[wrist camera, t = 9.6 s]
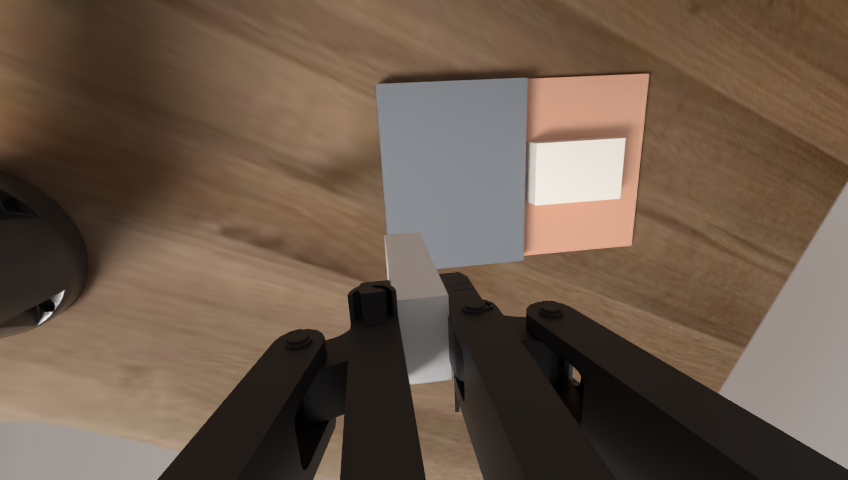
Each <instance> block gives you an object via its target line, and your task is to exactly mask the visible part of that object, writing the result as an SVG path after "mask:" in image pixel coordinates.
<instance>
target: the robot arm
mask: <svg viewBox="0 0 848 480" xmlns="http://www.w3.org/2000/svg"><path fill="white" fill-rule="evenodd" d="M384 239H385V251H386V263H387V276H388V280H386V281H376V282H366V283H361V284H360V286H359V287H356V288H354V289H353V290H351V291H350V292H349V294H348V303H349V311H350V320H351V327H350V330H349V331H347V332H346V333H344V334H342V335H340V336H338V337H335V338H332V339H329V340H325V337H324V335H323V334H322V333H321V332H319V331H317V330H311V329H304V330H302V329H299V330H295V331H291V332H288V333H287V334H285V335H283V336H281V337H279V338H278V339H277V340H275V341H274V342H273V343H272V345H271V346H270V347H269V348H268V349H267V351H266V352H265V353H264V354H263V355H262V356H261V358H260V359H259V360H258V361H257V362H256V364H255V365H254V366H253V367H252V368H251V370H250V371H249V372H248V373H247V374H246V375H245V377H244V378H243V379H242V380H241V381H240V383H239V384H238V385H237V386H236V387H235V388H234V390H233V391H232V392H231V393H230V394H229V396H228V397H227V398H226V399H225V400H224V401H223V403H222V404H221V405H220V406H219V407H218V409H217V410H216V411H215V412H214V413H213V414H212V416H211V417H210V418H209V419H208V420H207V422H206V423H205V424H204V425H203V426H202V428H201V429H200V430H199V431H198V432H197V433H196V435H195V436H194V437H193V438H192V439H191V441H190V442H189V443H188V444H187V445H186V446H185V448H184V449H183V450H182V451H181V452H180V454H179V455H178V456H177V457H176V458H175V460H174V461H173V462H172V463H171V464H170V465H169V467H168V468H167V469H166V470H165V471H164V472H163V474H162V475H161V476H160V477H159V478H158V480H313V479H314V476H315V474H316V471H317V469H318V467H319V464H320V462H321V460H322V457H323V455H324V452H325V450H326V448H327V445H328V443H329V441H330V438H331V436H332V433H333V431H334V429H335V425H336V417H338V416H340V415H343V414H345V415H344V430H343V445H342V460H341V474H340V480H426V478H425V472H424V466H423V461H422V455H421V449H420V443H419V437H418V431H417V425H416V419H415V413H414V407H413V401H412V396H411V390H410V385H412V384H420V383H428V382H435V381H443V380H451V366H452V369H453V372H454V384H455V412H459V406H460V408H461V411H462V414H463V417H464V420H465V423H466V426H467V429H468V432H469V436H470V439H471V442H472V445H473V448H474V451H475V454H476V457H477V460H478V463H479V467H480V470H481V473H482V476H483V479H484V480H848V469H845V468H844V467H842V466H841V465H839V464H837V463H836V462H834V461H832V460H830V459H829V458H827V457H825V456H824V455H822V454H820V453H818V452H817V451H815V450H813V449H811V448H810V447H808V446H806V445H805V444H803V443H801V442H800V441H798V440H796V439H794V438H793V437H791V436H789V435H788V434H786V433H784V432H783V431H781V430H779V429H778V428H776V427H774V426H772V425H771V424H769V423H767V422H766V421H764V420H762V419H761V418H759V417H757V416H755V415H753V414H752V413H750V412H749V411H747V410H745V409H743V408H742V407H740V406H738V405H737V404H735V403H733V402H732V401H730V400H728V399H726V398H724V397H723V396H721V395H720V394H718V393H716V392H714V391H713V390H711V389H709V388H708V387H706V386H704V385H703V384H701V383H699V382H697V381H696V380H694V379H692V378H691V377H689V376H687V375H685V374H684V373H682V372H680V371H679V370H677V369H675V368H674V367H672V366H670V365H668V364H667V363H665V362H663V361H662V360H660V359H658V358H657V357H655V356H653V355H651V354H650V353H648V352H646V351H645V350H643V349H641V348H639V347H638V346H636V345H634V344H633V343H631V342H629V341H628V340H626V339H624V338H622V337H621V336H619V335H617V334H616V333H614V332H612V331H610V330H609V329H607V328H605V327H604V326H602V325H600V324H599V323H597V322H595V321H593V320H592V319H590V318H588V317H587V316H585V315H583V314H581V313H580V312H578V311H576V310H575V309H573V308H571V307H569V306H567V305H565V304H562V303H557V302H555V301H542V302H536V303H534V304H531V305H529V306H528V308H527V311H526V317H513V316H505V315H503V314H502V313H501V311H500V310H499V308H498V307H497V306H496V305H495V304H494V303H492V302H490V301H487V300H483V299H481V297H480V296H479V294H478V292H477V291H476V289H475V288H474V286H473V285H472V284H471V282H470V280H469V278H468V277H467V276H465V275H463V274H461V273H459V272H456V273H446V274H438V272H437V269H436V267H435V265H434V263H433V261H432V259H431V257H430V255H429V252H428V250H427V248H426V246H425V244H424V242H423V240H422V237H421V235H420V233H419V232H415V233H403V234H392V235H384ZM86 275H87V255H86V250H85V246H84V243H83V240H82V238H81V236H80V234H79V232H78V230H77V228H76V226H75V225H74V223H73V222H72V220H71V219H70V218H69V216H68V215H67V214H66V213H65V212H64V211H63V210H62V209H61V207H60V206H58V205H57V204H56V203H55V202H54V201H53V200H52V199H50V198H49V197H48V196H47V195H45V194H44V193H42V192H41V191H39V190H38V189H36V188H34V187H32V186H31V185H29V184H27V183H25V182H22V181H20V180H18V179H15V178H12V177H10V176H6V175H3V174H0V338H4V337H8V336H12V335H17V334H20V333H24V332H27V331H29V330H32V329H34V328H37V327H39V326H41V325H43V324H44V323H46V322H48V321H49V320H51V319H52V318H54V317H55V316H57V315H59V314H60V313H62V312H63V311H64V310H66V309H67V308H68V307H69V306H70V305H71V304H72V303H73V302H74V301H75V300H76V298H77V297H78V295H79V294H80V292H81V290H82V288H83V286H84V283H85V279H86ZM573 367H575V369H576V370H577V371H578V372H579V373H580V375H581V381H580V383H579V382H577V381H576V380H575V379H574V378H572V375H573Z"/></svg>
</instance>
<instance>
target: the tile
mask: <svg viewBox="0 0 848 480" xmlns="http://www.w3.org/2000/svg"><path fill="white" fill-rule="evenodd" d="M625 141H626V138H621V137H600V138H584V139H567V140H551V141H535V142H527V165H526V201H527V202H529V203H531V204H533V205H535V206H536V205H549V204H561V203H574V202H586V201H599V200H611V199H620V196H621V185H622V174H623V163H624V152H625Z"/></svg>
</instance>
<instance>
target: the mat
mask: <svg viewBox="0 0 848 480" xmlns="http://www.w3.org/2000/svg"><path fill="white" fill-rule="evenodd" d="M648 82H649V74H627V75H604V76H581V77H558V78H534V79H527V121H526V165H527V142H535V141H551V140H567V139H584V138H600V137H621V138H626V141H625V152H624V163H623V174H622V185H621V196H620V199H611V200H599V201H586V202H574V203H561V204H549V205H536V206H535V205H533V204H531V203H529V202H527V201H526V166H525V210H524V255H535V254H546V253H557V252H567V251H578V250H589V249H599V248H610V247H621V246H632V236H633V227H634V217H635V207H636V198H637V188H638V178H639V169H640V159H641V149H642V140H643V130H644V120H645V111H646V101H647V91H648ZM524 255H523V256H524Z"/></svg>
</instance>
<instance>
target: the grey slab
mask: <svg viewBox="0 0 848 480" xmlns="http://www.w3.org/2000/svg"><path fill="white" fill-rule="evenodd" d="M375 89H376V102H377V115H378V127H379V140H380V152H381V165H382V178H383V190H384V203H385V215H386V228H387V235H392V234H403V233H415V232H419V233H420V235H421V237H422V240H423V242H424V244H425V246H426V248H427V250H428V252H429V255H430V257H431V259H432V261H433V263H434V265H435V267H436V269H440V268H451V267H461V266H472V265H482V264H493V263H504V262H514V261H523V255H524V210H525V166H526V121H527V78H505V79H482V80H459V81H435V82H412V83H388V84H376V85H375Z"/></svg>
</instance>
